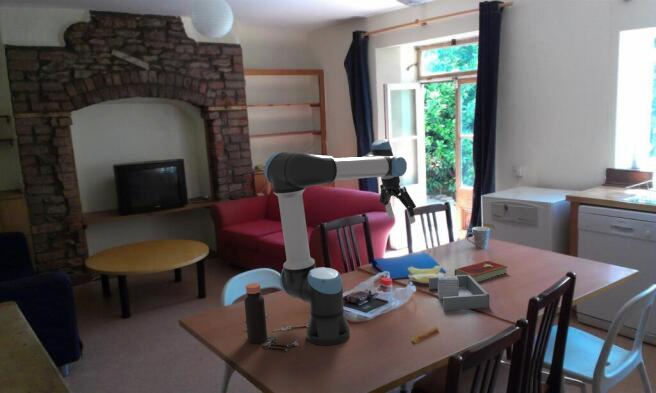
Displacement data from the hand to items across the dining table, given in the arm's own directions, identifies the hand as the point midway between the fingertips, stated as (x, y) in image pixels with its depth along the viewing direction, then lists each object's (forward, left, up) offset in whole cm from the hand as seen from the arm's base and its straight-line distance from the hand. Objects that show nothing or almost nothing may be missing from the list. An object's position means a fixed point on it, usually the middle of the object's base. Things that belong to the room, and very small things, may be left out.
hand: (401, 219), depth 214 cm
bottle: (-44, +60, -30) cm, 80 cm away
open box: (-18, -19, -30) cm, 39 cm away
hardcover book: (+7, -37, -30) cm, 48 cm away
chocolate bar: (-51, +2, -30) cm, 59 cm away
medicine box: (-18, -15, -30) cm, 38 cm away
